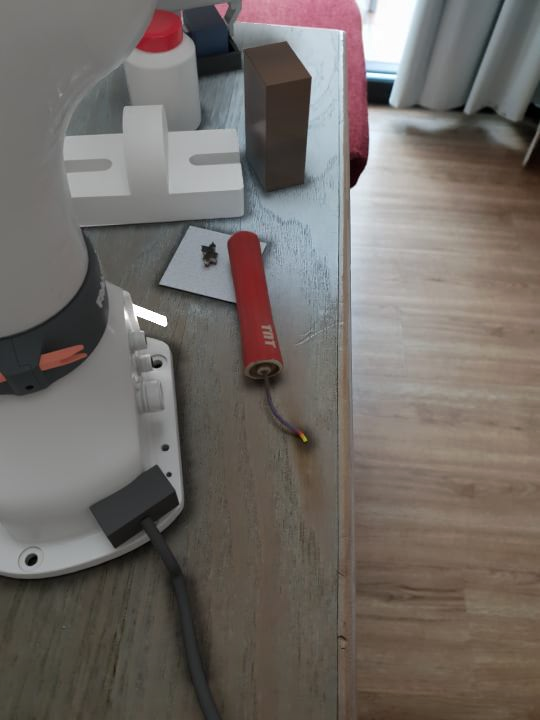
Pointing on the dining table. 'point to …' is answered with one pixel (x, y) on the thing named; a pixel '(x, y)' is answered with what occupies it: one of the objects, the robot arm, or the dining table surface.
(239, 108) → the dining table surface
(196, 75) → the pill bottle
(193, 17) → the dark blue rectangular block
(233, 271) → the dynamite stick
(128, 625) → the dining table surface
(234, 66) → the dark rectangular tray
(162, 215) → the slotted mounting bracket
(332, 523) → the dining table surface
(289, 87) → the dark brown tall block
